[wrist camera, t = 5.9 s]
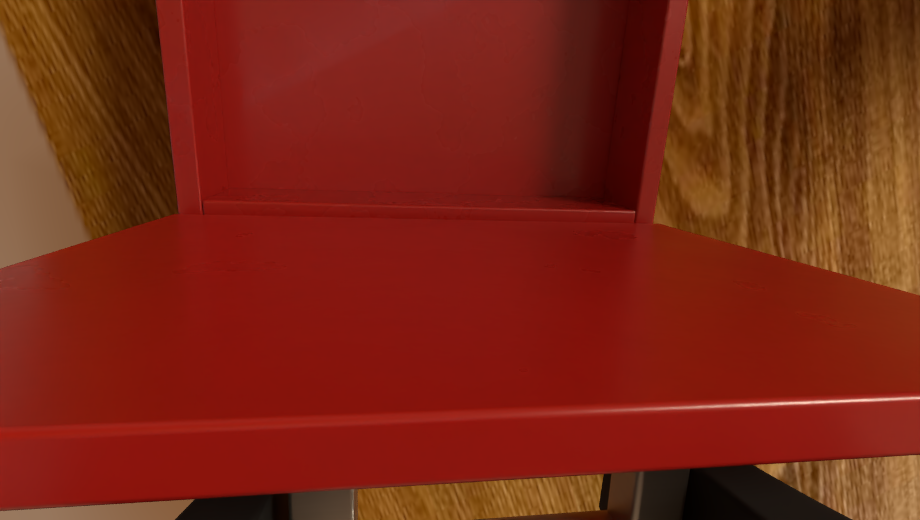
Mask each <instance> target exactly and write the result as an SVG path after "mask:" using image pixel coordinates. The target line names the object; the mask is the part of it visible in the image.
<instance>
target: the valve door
mask: <svg viewBox="0 0 920 520" xmlns="http://www.w3.org/2000/svg"><path fill="white" fill-rule="evenodd" d="M906 455H920V296H919V295H916V294H912V293H908V292H905V291H901V290H898V289H894V288H890V287H887V286H883V285H879V284H876V283H872V282H868V281H865V280H861V279H858V278H854V277H850V276H847V275H843V274H839V273H836V272H832V271H829V270H825V269H821V268H818V267H814V266H810V265H807V264H803V263H799V262H796V261H792V260H789V259H785V258H781V257H778V256H774V255H770V254H767V253H763V252H760V251H756V250H752V249H749V248H745V247H741V246H738V245H734V244H730V243H727V242H723V241H720V240H716V239H712V238H709V237H705V236H701V235H698V234H694V233H691V232H687V231H683V230H680V229H676V228H672V227H669V226H665V225H661V224H643V223H593V222H544V221H494V220H444V219H395V218H345V217H295V216H246V215H196V214H173V215H170V216H166V217H163V218H160V219H157V220H154V221H150V222H147V223H144V224H141V225H138V226H135V227H131V228H128V229H125V230H122V231H119V232H115V233H112V234H109V235H106V236H103V237H100V238H96V239H93V240H90V241H87V242H84V243H80V244H77V245H75V246H71V247H68V248H65V249H61V250H58V251H55V252H52V253H49V254H46V255H42V256H39V257H36V258H33V259H30V260H26V261H23V262H20V263H17V264H14V265H10V266H7V267H4V268H1V269H0V511H7V510H24V509H40V508H56V507H73V506H88V505H105V504H122V503H137V502H153V501H171V500H186V499H203V498H220V497H236V496H252V495H269V494H285V493H288V508H289V520H358V489H367V488H383V487H399V486H416V485H432V484H448V483H465V482H481V481H497V480H514V479H530V478H546V477H563V476H579V475H595V474H612V475H611V483H610V491H609V500H608V508H607V510H599V511H585V512H572V513H558V514H544V515H531V516H517V517H503V518H489V519H476V520H682V517H683V511H684V504H685V498H686V492H687V485H688V479H689V472H690V469H693V468H710V467H726V466H742V465H759V464H775V463H791V462H808V461H824V460H840V459H857V458H873V457H889V456H906Z"/></svg>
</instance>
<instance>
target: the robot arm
mask: <svg viewBox="0 0 920 520" xmlns="http://www.w3.org/2000/svg"><path fill="white" fill-rule="evenodd" d="M611 475H612V474H604V477H603V483H602V490H601V496H600V503H599V507H600V510H607V508H608V500H609V491H610V483H611ZM175 520H289V508H288V493H285V494H269V495H252V496H236V497H220V498H203V499H195V500H194V501H193V502H192V503H191V504H190V505H189V506H188V507H187V508H186V509H185V510H184V511H183V512H182V513H181V514H180V515H179V516H178V517H177V518H176V519H175ZM682 520H852V519H850V518H848V517H846V516H844V515H842V514H840V513H838V512H836V511H835V510H833V509H831V508H829V507H827V506H825V505H823V504H821V503H819V502H818V501H816V500H814V499H812V498H810V497H808V496H807V495H805V494H803V493H801V492H799V491H798V490H796V489H794V488H792V487H790V486H789V485H787V484H785V483H783V482H782V481H780V480H778V479H776V478H774V477H773V476H771V475H769V474H767V473H766V472H764V471H762V470H760V469H759V468H757V467H755V466H754V465H742V466H726V467H710V468H693V469H690V472H689V479H688V485H687V492H686V498H685V504H684V511H683V517H682Z"/></svg>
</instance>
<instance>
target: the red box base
mask: <svg viewBox="0 0 920 520" xmlns="http://www.w3.org/2000/svg"><path fill="white" fill-rule="evenodd" d="M687 6H688V0H156V9H157V18H158V28H159V37H160V46H161V56H162V65H163V74H164V83H165V93H166V102H167V111H168V121H169V130H170V139H171V149H172V158H173V167H174V176H175V186H176V195H177V204H178V214H196V215H246V216H295V217H345V218H395V219H444V220H494V221H544V222H593V223H643V224H653V219H654V213H655V206H656V200H657V194H658V188H659V181H660V175H661V169H662V163H663V156H664V150H665V144H666V138H667V131H668V125H669V119H670V113H671V106H672V100H673V94H674V87H675V81H676V75H677V69H678V62H679V56H680V50H681V44H682V37H683V31H684V25H685V19H686V12H687Z"/></svg>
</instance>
